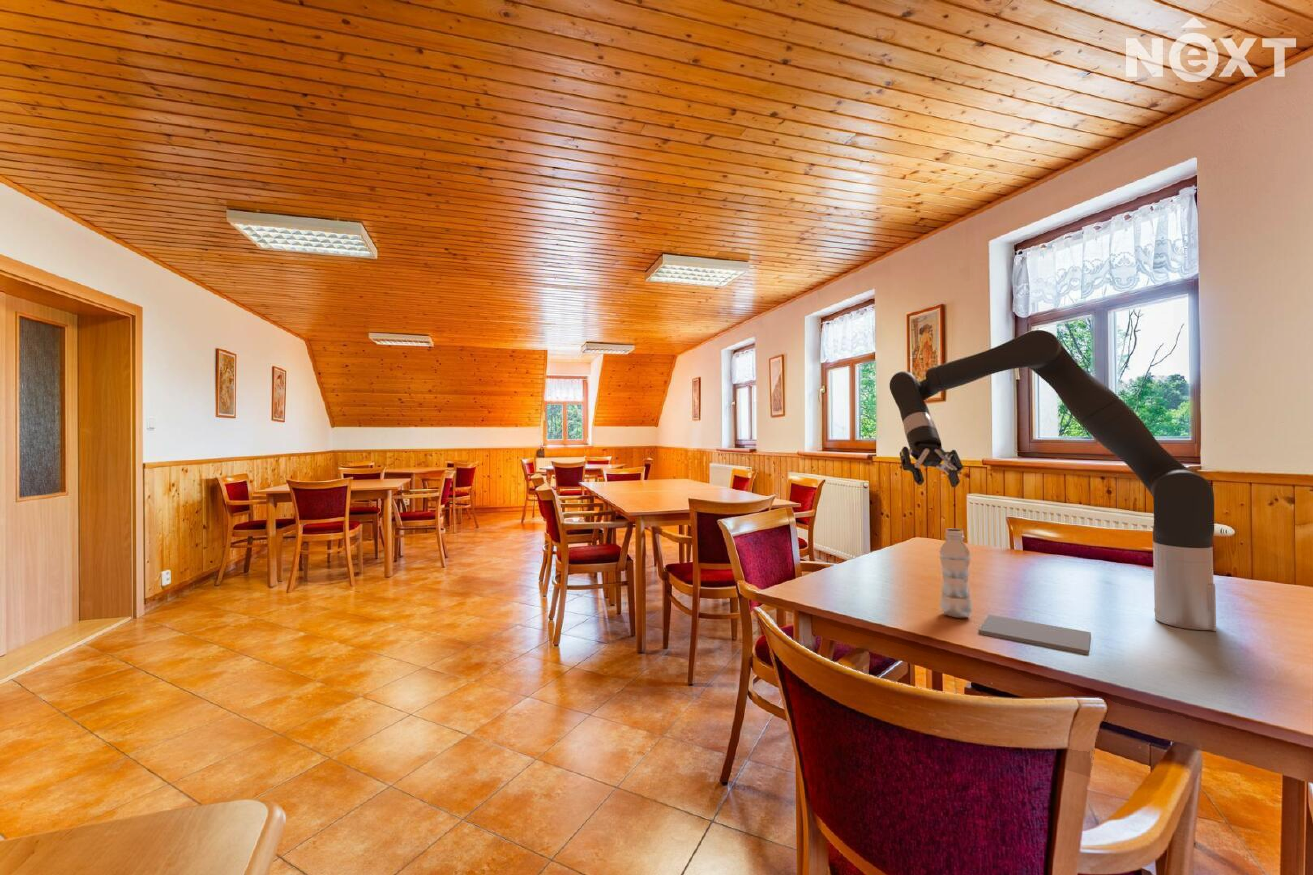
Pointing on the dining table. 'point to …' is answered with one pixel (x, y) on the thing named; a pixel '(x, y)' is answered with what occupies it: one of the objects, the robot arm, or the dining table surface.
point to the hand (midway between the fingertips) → (938, 484)
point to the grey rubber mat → (1037, 634)
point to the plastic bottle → (955, 575)
